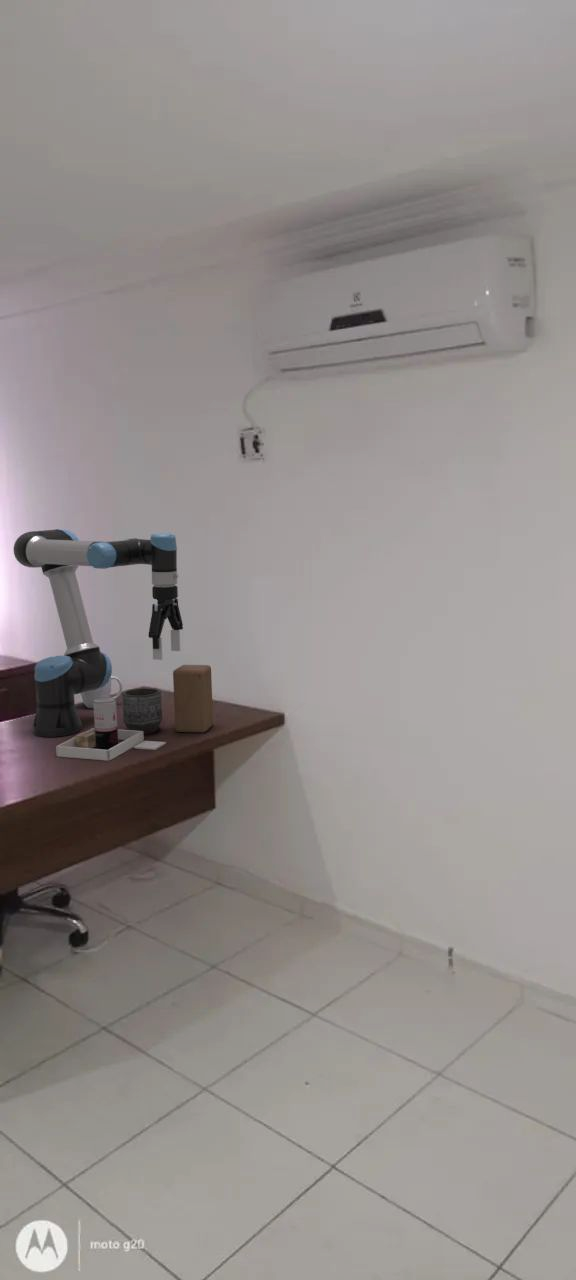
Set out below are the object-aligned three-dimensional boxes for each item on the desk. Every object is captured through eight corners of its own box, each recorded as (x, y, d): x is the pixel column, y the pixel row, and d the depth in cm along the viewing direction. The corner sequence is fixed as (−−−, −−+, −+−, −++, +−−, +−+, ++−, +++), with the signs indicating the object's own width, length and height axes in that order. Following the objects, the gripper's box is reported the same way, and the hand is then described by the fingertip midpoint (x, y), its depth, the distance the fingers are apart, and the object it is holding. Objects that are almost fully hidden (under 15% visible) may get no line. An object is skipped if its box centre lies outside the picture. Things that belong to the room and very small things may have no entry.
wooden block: (205, 733, 289) (202, 670, 285) (174, 732, 291) (171, 670, 287) (214, 725, 298) (211, 664, 295) (184, 724, 300) (181, 664, 297)
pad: (133, 748, 274) (133, 746, 274) (145, 741, 281) (144, 740, 281) (155, 749, 272) (155, 748, 272) (165, 743, 279) (165, 742, 279)
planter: (170, 728, 296) (168, 689, 294) (146, 737, 285) (144, 697, 283) (140, 724, 302) (138, 685, 300) (116, 733, 292) (113, 693, 289)
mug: (122, 701, 335) (120, 665, 333) (124, 708, 324) (122, 671, 322) (80, 704, 332) (78, 668, 330) (80, 711, 321) (78, 674, 319)
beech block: (76, 748, 276) (75, 735, 275) (83, 745, 279) (82, 732, 279) (88, 749, 274) (87, 736, 274) (95, 746, 278) (94, 733, 277)
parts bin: (56, 756, 268) (55, 746, 268) (94, 737, 288) (93, 727, 287) (109, 760, 262) (108, 750, 262) (144, 740, 282) (143, 731, 282)
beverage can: (110, 744, 279) (107, 696, 276) (123, 748, 275) (120, 699, 272) (91, 749, 274) (88, 700, 272) (104, 753, 270) (101, 703, 267)
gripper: (159, 591, 264) (161, 663, 268) (192, 580, 288) (193, 647, 292) (135, 590, 266) (137, 662, 270) (169, 580, 290) (171, 646, 294)
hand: (166, 655), depth 281 cm, fingers open, 13 cm apart
